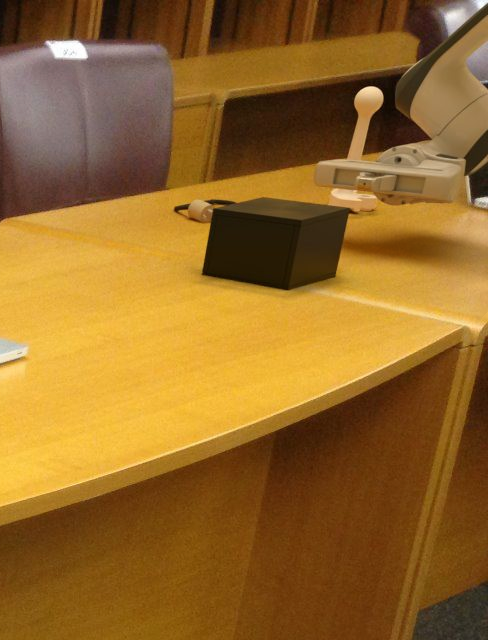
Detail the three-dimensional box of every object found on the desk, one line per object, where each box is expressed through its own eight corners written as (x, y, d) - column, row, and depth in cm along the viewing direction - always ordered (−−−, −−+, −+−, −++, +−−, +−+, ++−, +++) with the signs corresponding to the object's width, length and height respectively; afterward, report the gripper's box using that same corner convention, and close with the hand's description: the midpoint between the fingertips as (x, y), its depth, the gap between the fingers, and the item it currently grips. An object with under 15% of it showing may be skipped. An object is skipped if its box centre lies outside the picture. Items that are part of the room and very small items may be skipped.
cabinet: (250, 264, 225) (263, 196, 221) (335, 277, 217) (350, 207, 212) (200, 278, 216) (213, 208, 212) (287, 292, 208) (301, 220, 204)
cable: (147, 206, 265) (151, 186, 264) (229, 205, 269) (233, 185, 267) (200, 225, 252) (204, 203, 250) (285, 223, 256) (290, 202, 254)
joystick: (326, 200, 274) (355, 82, 265) (371, 204, 272) (402, 85, 262) (330, 211, 265) (360, 89, 255) (377, 215, 262) (410, 92, 253)
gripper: (340, 147, 241) (300, 155, 233) (477, 160, 228) (440, 168, 219) (332, 188, 244) (292, 197, 236) (467, 203, 230) (429, 214, 222)
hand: (364, 184), depth 227 cm, fingers closed
